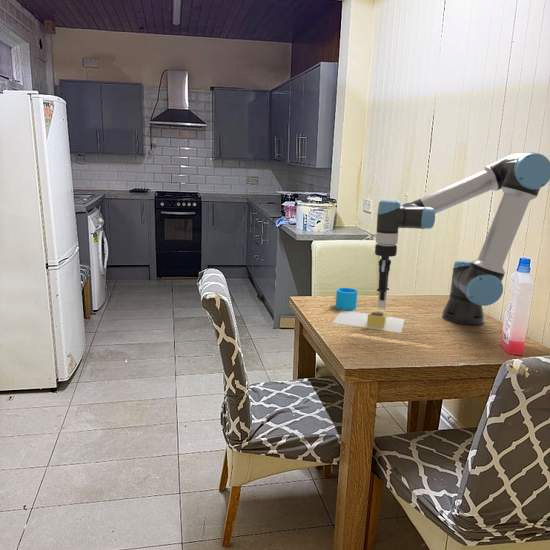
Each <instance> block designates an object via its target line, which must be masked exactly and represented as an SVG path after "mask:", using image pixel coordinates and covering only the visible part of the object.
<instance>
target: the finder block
mask: <svg viewBox="0 0 550 550" xmlns="http://www.w3.org/2000/svg"><path fill="white" fill-rule="evenodd" d="M367 314H368V320H367V326H373V327H380V328H384V327H385V324H386V318H387V317H388V312H385V311H378V310H377V311H376V310H370V311H369V312H368V313H367Z"/></svg>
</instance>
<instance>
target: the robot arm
mask: <svg viewBox="0 0 550 550" xmlns="http://www.w3.org/2000/svg"><path fill="white" fill-rule="evenodd" d="M549 182H550V160H549V158H548V157H546V156H545V155H543V154H541V153H538V152H532V151H529V152H516V153H512V154H510V155H509V154H508V155H507V156H505V157H503V158H501V159H499V160H497V161H495V162H493V163H491V164H488V165H486V166H485V167H484V169H483V171H480V172H478V173H476V174H473V175H471V176H468V177H466V178H464V179H462V180H460V181H457V182H455V183H453V184H450V185H447V186H446V187H443V188H441V189H439V190H437V191H434V192H432V193H429V194H427V195H425V196H423V197H420V198H418V199H416V200H414V201H411V202H405V203H403V204H401V201H399V200H395V199H393V200H391V199H382V200H380V201H379V203H378V205H377V206H378V208H377V216H376V218H377V220H376V233H375V234H374V237H375V243H376V244H375V246H374V254H375V256H379V257H380V259H379V260H378V266H379V267H378V273H379V274H378V275H379V276H378V278H379V279H378V288H377V289H376V291H377V292H378V297H377V298H378V301H377V309H383V310H386V308H387V307H386V306H387V295H388V291H389V290H390V287H388V286H389V273H390V270H391V264H392V260H391V259H390V257H396V256H397V254H398V253H397V251H398V246H397V244H398V242H399V241H398V239H399V229H417V230H418V229H420V230H421V229H422V230H424V229H427V230H428V229H429V230H430V229H432V228H434V225H435V222H436V214H439V213H440V212H442V211H446V210H448V209H450V208H452V207H455V206H458V205H459V204H462V203H464V202H467V201H468V200H471V199H473V198H476V197H478V196H480V195H482V194H485V193H487V192H489V191H494V192H495V191H496V192H497V191H499V190H502V192H503V195H502V197H501V200H500V202H499V205H498V207H497V210H496V212H495V215H494V217H493V220H492V222H491V225H490V227H489V230H488V232H487V235H486V238H485V239H484V242H483V244H482V247H481V250H480V252H479V255H478V257H477V259H474V260H456V261H454V264H453V267H452V275H451V283H450V284H451V285H450V291H449V293H450V294H449V297H448V300H447V302H446V304H445V306H444V308H443V309H442V318H443V319H445V320H446V321H449V322H452V323H455V324H458V325H459V324H460V325H467V326H477V325H481V324H483V323H484V318H485V314H484V308H483V307H487V306H491V305H493V304H495V303H497V302H498V301H499V300H500V298H501V297H502V295H503V292H504V285H503V282H502V281H503V279H504V277H505V274H506V272H505V269H504V264H505V261H506V259H507V257H508V255H509V252H510V250H511V248H512V245H513V242H514V241H515V237H516V235H517V233H518V230H519V228H520V226H521V222H522V220H523V219H524V215H525V213H526V210H527V208H528V206H529V204H530V202H531V201H532V200H534V199H536V198H537V197H538V195H539V192H540V189H542V188H543V187H544V186H546V185H547V184H548V183H549Z"/></svg>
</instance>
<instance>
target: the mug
mask: <svg viewBox="0 0 550 550" xmlns="http://www.w3.org/2000/svg"><path fill="white" fill-rule="evenodd" d="M335 295H336V297H335V308H336V309H339V310H343V311H354V310H356V309H357V302H358V301H357V300H358V290H357V289H355V288H350V287H339V288H336V294H335Z"/></svg>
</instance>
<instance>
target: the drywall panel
mask: <svg viewBox="0 0 550 550" xmlns="http://www.w3.org/2000/svg"><path fill="white" fill-rule="evenodd" d="M368 314H369V313H364V312H356V311H352V310H342V309H340V312H339V313H338V315H337V316H336V317H335V319H334V320H333V321H332V324H338V325H345V326H351V327H358V328H363V329H364V328H365V329H371V330H372V329H373V330H378V331H384V332H391V333H399V334H402V330H403V326H404V323H405V318H398V317H393V316H392V317H391V316H387V318H386V324H385V327H384V328H380V327H373V326H367V320H368Z"/></svg>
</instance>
